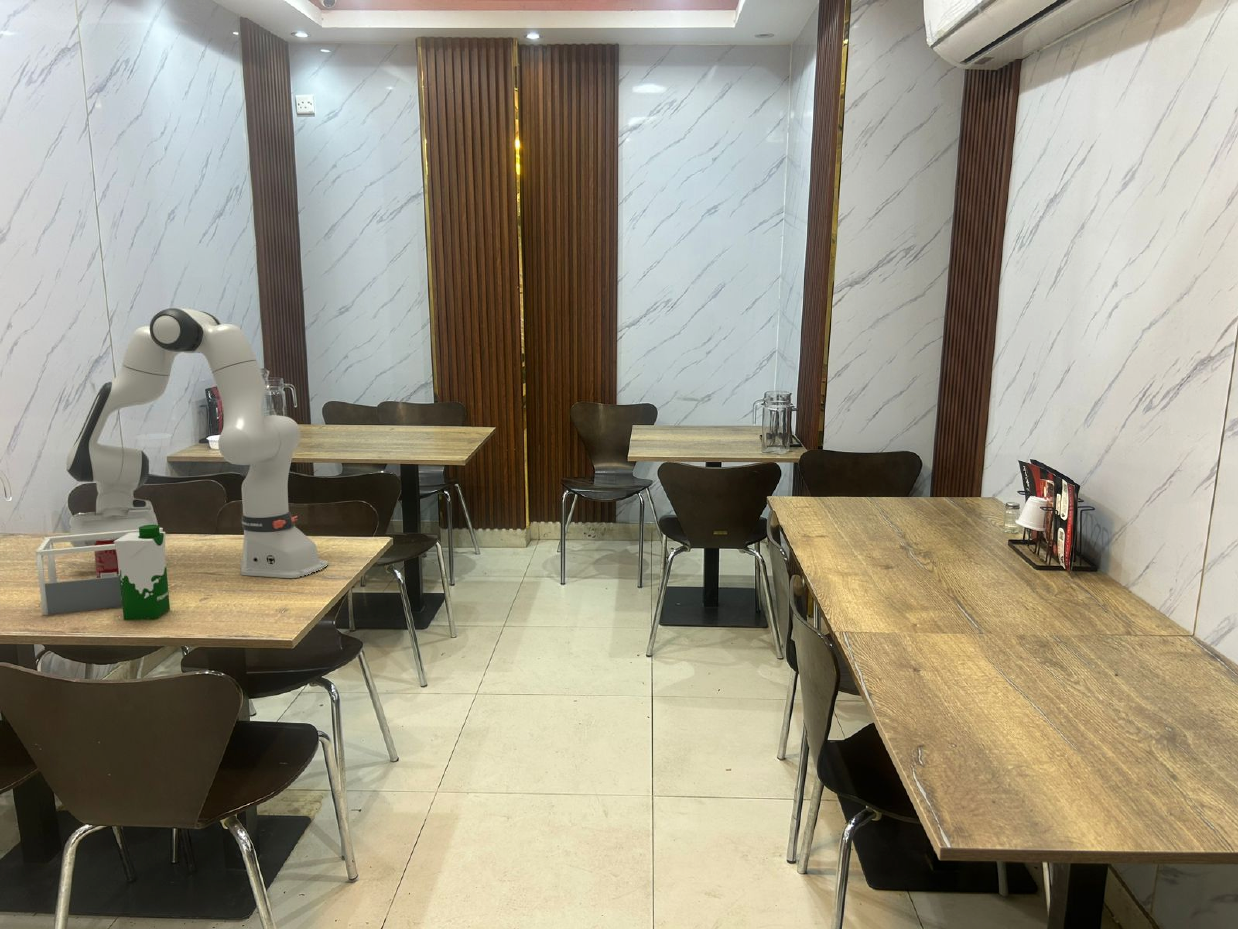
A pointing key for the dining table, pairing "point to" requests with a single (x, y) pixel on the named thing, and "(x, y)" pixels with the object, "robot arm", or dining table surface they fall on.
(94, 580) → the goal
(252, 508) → the robot arm
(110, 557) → the soda can
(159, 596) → the milk carton
